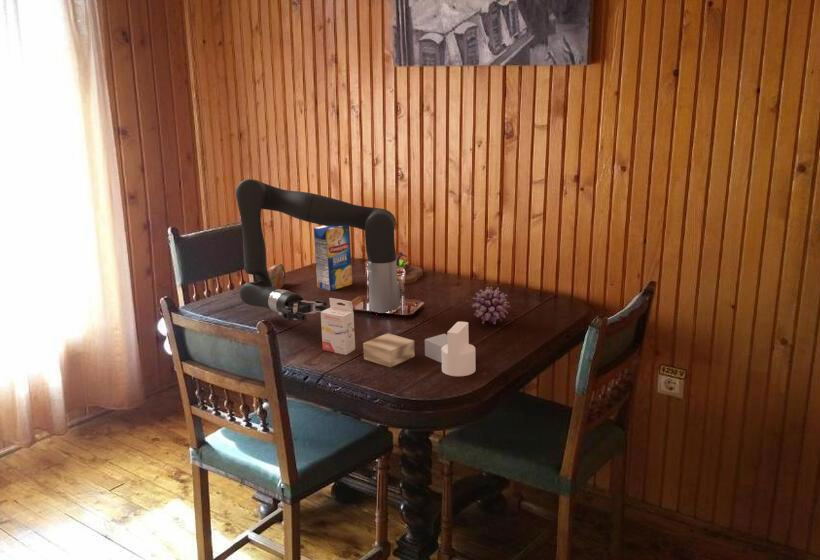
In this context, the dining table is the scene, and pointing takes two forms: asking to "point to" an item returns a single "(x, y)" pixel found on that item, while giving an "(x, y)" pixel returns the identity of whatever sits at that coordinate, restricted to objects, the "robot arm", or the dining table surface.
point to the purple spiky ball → (490, 305)
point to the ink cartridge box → (338, 327)
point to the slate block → (435, 346)
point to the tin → (277, 275)
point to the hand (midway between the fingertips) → (317, 314)
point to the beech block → (388, 350)
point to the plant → (409, 269)
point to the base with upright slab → (458, 352)
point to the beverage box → (333, 257)
